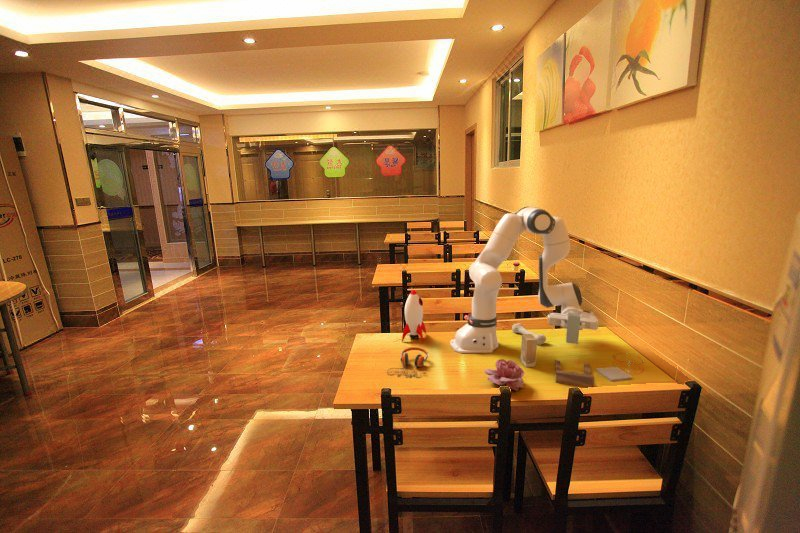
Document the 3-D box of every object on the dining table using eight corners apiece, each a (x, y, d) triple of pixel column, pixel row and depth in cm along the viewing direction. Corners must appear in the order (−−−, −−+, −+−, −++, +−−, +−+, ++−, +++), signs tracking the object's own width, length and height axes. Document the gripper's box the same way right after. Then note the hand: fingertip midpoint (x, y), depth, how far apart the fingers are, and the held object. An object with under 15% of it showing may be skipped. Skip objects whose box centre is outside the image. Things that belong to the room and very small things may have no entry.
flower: (489, 390, 145) (497, 363, 144) (479, 375, 159) (486, 351, 159) (528, 399, 146) (536, 373, 145) (515, 384, 160) (522, 360, 160)
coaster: (610, 381, 154) (610, 379, 154) (595, 370, 163) (595, 368, 163) (631, 378, 156) (632, 377, 156) (615, 368, 164) (616, 366, 164)
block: (565, 338, 174) (568, 312, 172) (577, 339, 173) (579, 313, 170) (566, 342, 170) (568, 315, 168) (577, 343, 169) (580, 316, 166)
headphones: (384, 370, 162) (398, 341, 179) (385, 380, 164) (399, 350, 182) (425, 375, 158) (435, 344, 175) (426, 385, 160) (435, 354, 177)
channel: (555, 362, 171) (555, 353, 170) (589, 366, 167) (589, 357, 166) (555, 382, 155) (556, 372, 154) (593, 387, 150) (593, 377, 149)
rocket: (423, 343, 194) (422, 293, 189) (401, 342, 196) (400, 292, 191) (426, 334, 205) (426, 287, 199) (405, 333, 207) (404, 286, 201)
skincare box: (520, 360, 173) (521, 334, 171) (529, 360, 174) (531, 333, 171) (525, 367, 167) (527, 339, 164) (536, 367, 167) (537, 339, 165)
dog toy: (547, 344, 189) (548, 334, 188) (537, 347, 187) (538, 336, 186) (519, 330, 208) (520, 321, 207) (510, 332, 205) (510, 323, 204)
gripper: (547, 307, 185) (547, 317, 172) (597, 312, 178) (600, 323, 165) (546, 320, 186) (546, 331, 174) (595, 326, 179) (599, 337, 167)
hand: (573, 327), depth 169 cm, fingers closed on block, 4 cm apart
